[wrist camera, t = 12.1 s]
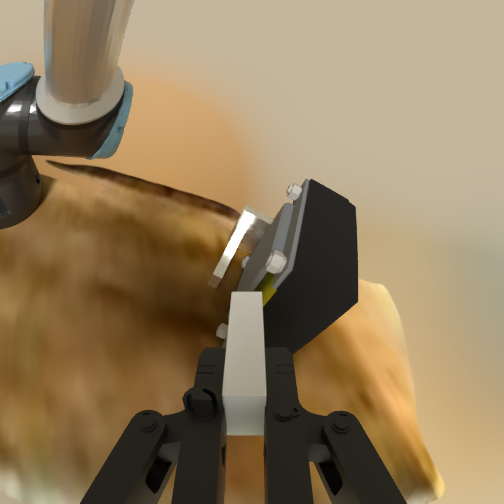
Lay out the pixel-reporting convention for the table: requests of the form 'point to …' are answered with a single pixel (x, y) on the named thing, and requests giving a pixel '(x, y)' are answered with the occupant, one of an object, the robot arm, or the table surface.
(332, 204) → the electrical component
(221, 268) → the mounting bracket
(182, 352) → the table surface
